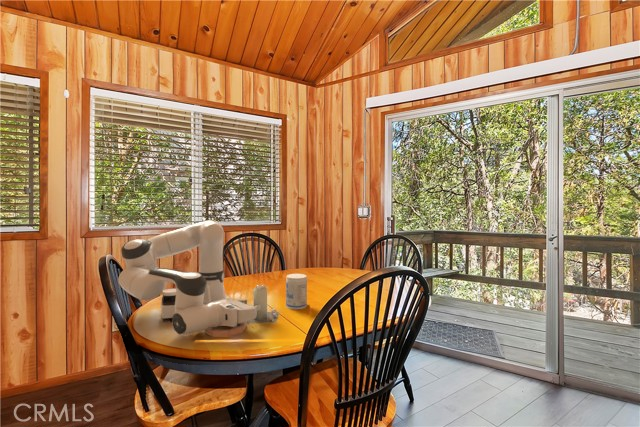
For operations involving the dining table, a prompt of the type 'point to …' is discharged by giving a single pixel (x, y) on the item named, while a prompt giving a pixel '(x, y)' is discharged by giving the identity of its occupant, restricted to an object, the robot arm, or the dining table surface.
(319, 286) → the dining table surface
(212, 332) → the bowl
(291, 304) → the supplement tub
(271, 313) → the parts board
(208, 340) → the dining table surface
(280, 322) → the dining table surface
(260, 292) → the pebble cup
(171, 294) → the spread jar
